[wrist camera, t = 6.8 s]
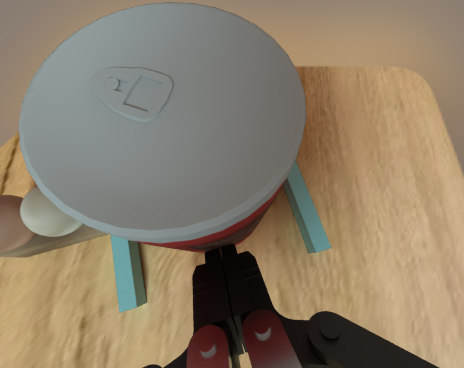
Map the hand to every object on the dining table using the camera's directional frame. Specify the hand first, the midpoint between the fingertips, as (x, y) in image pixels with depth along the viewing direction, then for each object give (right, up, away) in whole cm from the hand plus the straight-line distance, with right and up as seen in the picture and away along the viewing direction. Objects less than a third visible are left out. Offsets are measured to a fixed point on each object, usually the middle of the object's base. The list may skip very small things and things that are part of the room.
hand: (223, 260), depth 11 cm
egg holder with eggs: (-11, +1, +5) cm, 12 cm away
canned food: (-1, +3, +6) cm, 6 cm away
